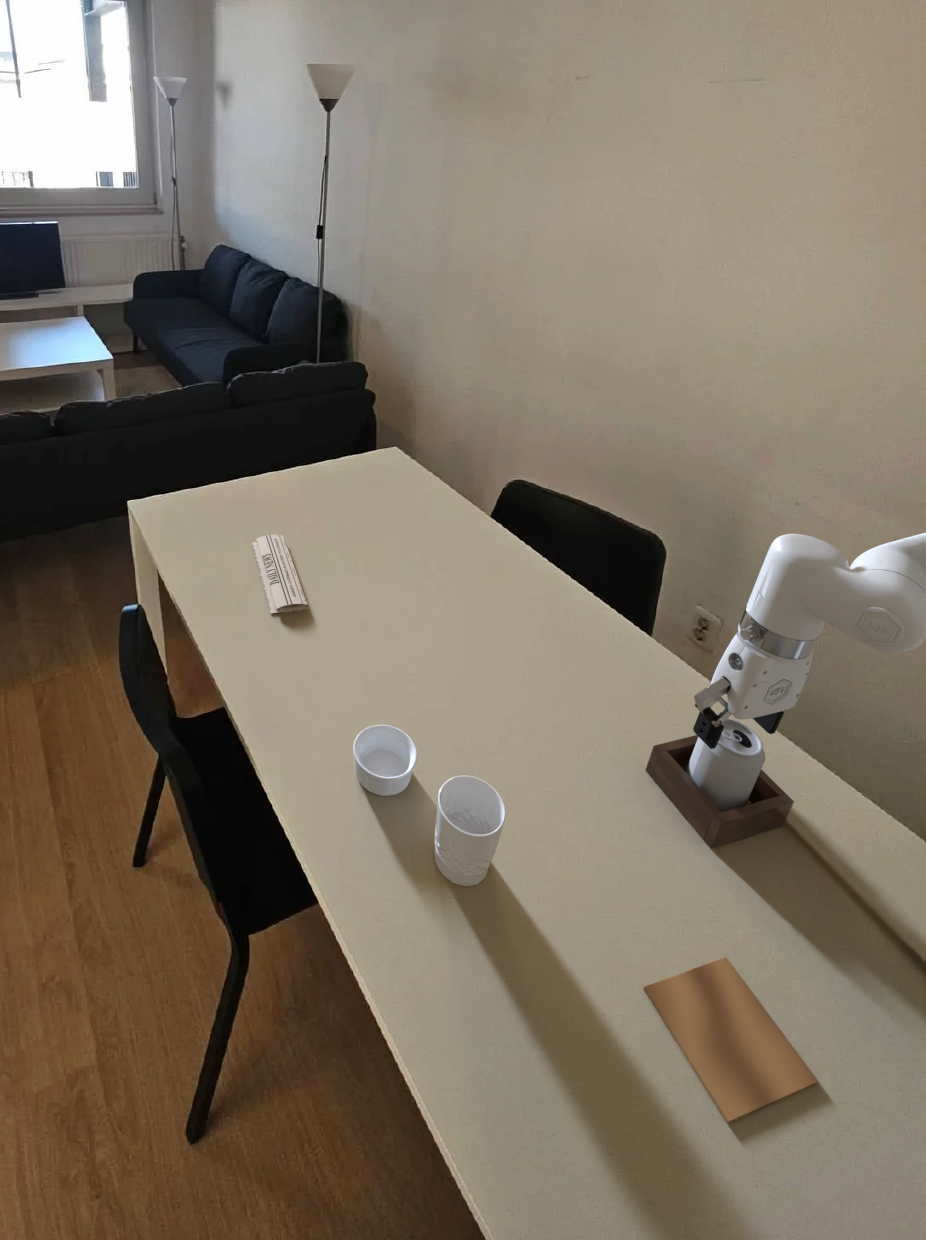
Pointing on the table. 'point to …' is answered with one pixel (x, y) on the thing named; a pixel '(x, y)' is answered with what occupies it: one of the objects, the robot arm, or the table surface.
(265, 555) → the newspaper
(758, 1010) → the coaster
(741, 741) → the can
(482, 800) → the white cup
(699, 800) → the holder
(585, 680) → the table surface
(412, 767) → the ramekin
